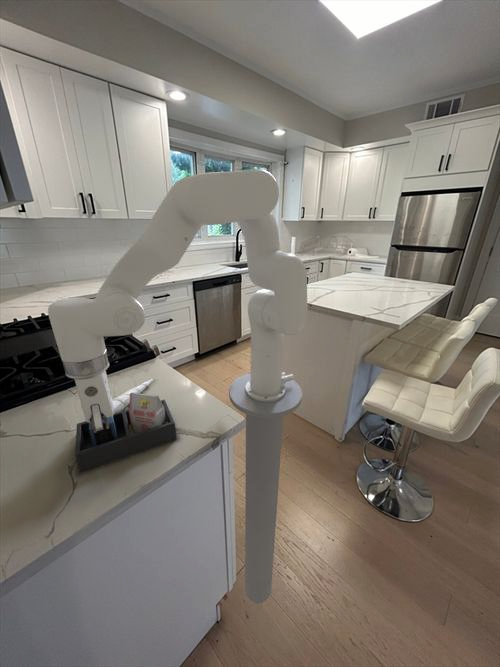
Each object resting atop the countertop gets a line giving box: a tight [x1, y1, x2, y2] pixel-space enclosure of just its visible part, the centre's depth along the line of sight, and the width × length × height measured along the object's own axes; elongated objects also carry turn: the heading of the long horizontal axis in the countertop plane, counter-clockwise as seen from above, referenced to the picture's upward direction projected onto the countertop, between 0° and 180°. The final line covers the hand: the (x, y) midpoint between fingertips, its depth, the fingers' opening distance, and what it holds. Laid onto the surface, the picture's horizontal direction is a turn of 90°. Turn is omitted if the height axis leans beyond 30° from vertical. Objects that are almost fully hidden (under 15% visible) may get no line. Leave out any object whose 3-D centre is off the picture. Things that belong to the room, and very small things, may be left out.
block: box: [89, 413, 117, 446], centre depth 60 cm, size 4×4×4 cm
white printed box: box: [128, 392, 166, 433], centre depth 64 cm, size 4×7×10 cm, turn 79°
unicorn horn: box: [84, 378, 154, 422], centre depth 75 cm, size 5×24×5 cm, turn 160°
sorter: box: [74, 399, 178, 473], centre depth 63 cm, size 19×10×5 cm, turn 119°
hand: (105, 434), depth 61 cm, fingers closed on block, 4 cm apart
